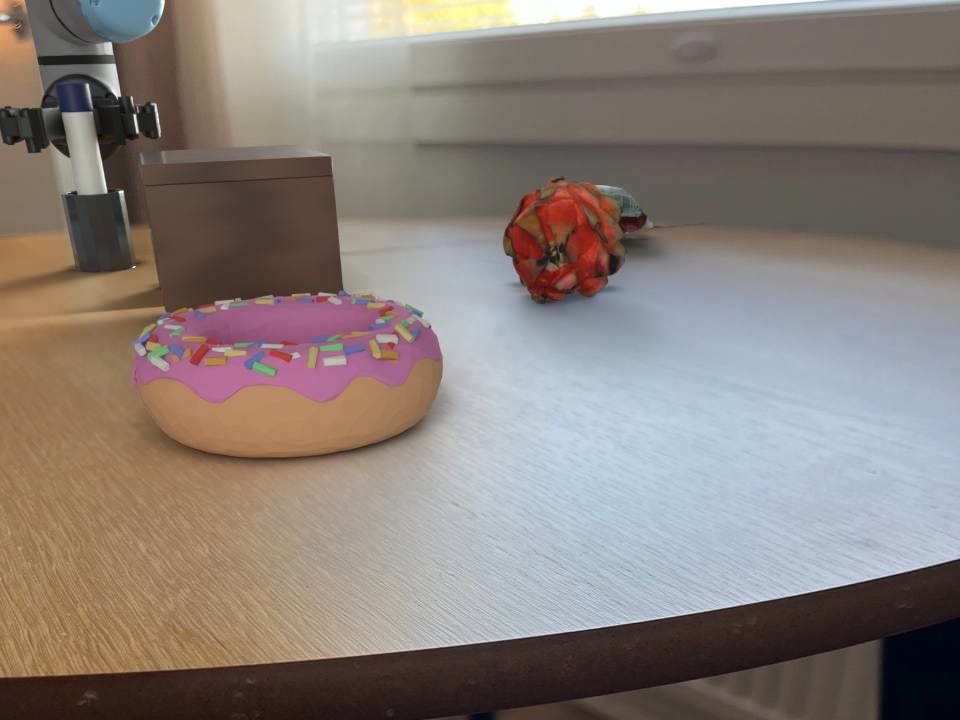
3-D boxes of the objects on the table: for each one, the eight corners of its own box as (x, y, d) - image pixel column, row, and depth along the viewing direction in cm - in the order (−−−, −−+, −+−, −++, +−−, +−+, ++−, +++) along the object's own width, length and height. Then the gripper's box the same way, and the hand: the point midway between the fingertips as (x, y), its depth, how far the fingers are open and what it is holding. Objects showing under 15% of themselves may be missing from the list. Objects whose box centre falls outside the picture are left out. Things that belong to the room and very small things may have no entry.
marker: (90, 270, 88) (53, 84, 81) (91, 265, 90) (55, 84, 83) (122, 267, 88) (88, 83, 81) (122, 263, 90) (88, 83, 84)
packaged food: (524, 235, 102) (524, 181, 100) (643, 232, 102) (646, 178, 99) (524, 250, 95) (524, 192, 92) (653, 247, 94) (656, 189, 92)
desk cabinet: (168, 329, 68) (140, 165, 64) (160, 292, 80) (136, 152, 75) (345, 313, 71) (331, 155, 67) (312, 280, 83) (299, 144, 78)
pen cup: (76, 279, 86) (59, 196, 83) (78, 270, 91) (62, 190, 87) (138, 275, 88) (123, 192, 85) (137, 266, 92) (123, 187, 89)
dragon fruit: (587, 300, 81) (561, 359, 72) (499, 234, 79) (462, 286, 70) (654, 209, 76) (636, 261, 67) (562, 136, 74) (530, 179, 65)
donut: (429, 374, 57) (425, 279, 54) (462, 458, 44) (458, 340, 42) (164, 390, 55) (147, 293, 53) (120, 482, 43) (95, 361, 40)
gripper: (188, 156, 103) (205, 174, 83) (-8, 166, 98) (-38, 187, 79) (175, 71, 99) (190, 69, 80) (-29, 76, 95) (-65, 76, 75)
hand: (77, 127), depth 79 cm, fingers open, 5 cm apart
